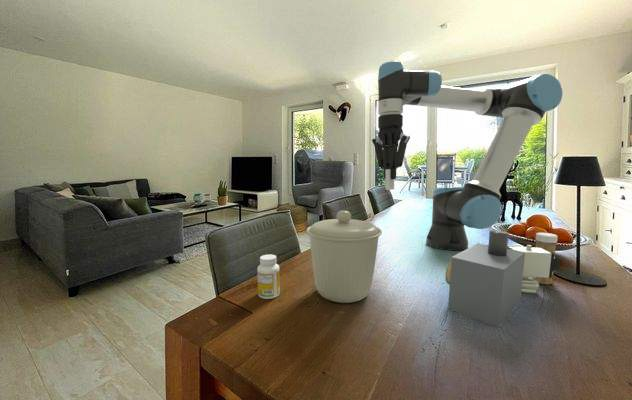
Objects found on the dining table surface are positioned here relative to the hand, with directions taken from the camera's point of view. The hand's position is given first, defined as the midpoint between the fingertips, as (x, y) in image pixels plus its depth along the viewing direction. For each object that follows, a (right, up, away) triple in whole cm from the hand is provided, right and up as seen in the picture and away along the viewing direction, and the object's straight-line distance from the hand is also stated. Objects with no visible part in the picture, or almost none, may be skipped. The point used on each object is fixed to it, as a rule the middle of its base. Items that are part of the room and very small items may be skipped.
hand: (389, 189), depth 93 cm
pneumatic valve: (+29, -27, -20) cm, 44 cm away
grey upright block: (+17, -16, -28) cm, 37 cm away
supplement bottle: (-36, -27, -22) cm, 50 cm away
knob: (+12, -24, -27) cm, 38 cm away
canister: (-17, -27, -22) cm, 39 cm away
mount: (+15, -28, -27) cm, 42 cm away
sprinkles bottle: (+38, -26, -14) cm, 49 cm away
